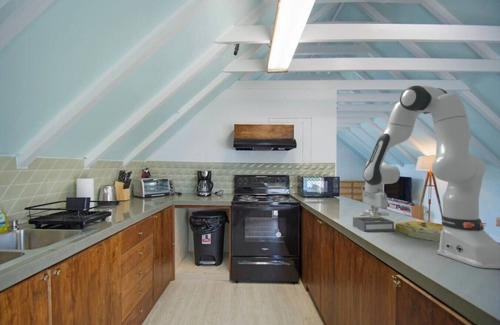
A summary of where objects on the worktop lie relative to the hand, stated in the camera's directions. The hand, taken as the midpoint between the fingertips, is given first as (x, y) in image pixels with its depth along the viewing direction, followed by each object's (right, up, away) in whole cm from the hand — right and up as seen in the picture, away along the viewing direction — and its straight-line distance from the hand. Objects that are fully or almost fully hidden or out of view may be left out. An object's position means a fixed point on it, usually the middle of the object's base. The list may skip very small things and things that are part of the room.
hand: (374, 213), depth 142 cm
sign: (+23, -9, -10) cm, 26 cm away
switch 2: (0, -1, +3) cm, 3 cm away
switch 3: (+5, 0, +3) cm, 6 cm away
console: (0, -9, +3) cm, 9 cm away
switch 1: (-5, -1, +3) cm, 6 cm away
